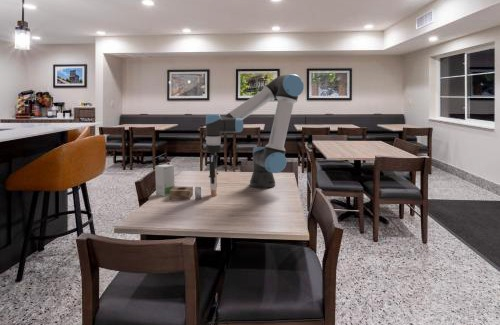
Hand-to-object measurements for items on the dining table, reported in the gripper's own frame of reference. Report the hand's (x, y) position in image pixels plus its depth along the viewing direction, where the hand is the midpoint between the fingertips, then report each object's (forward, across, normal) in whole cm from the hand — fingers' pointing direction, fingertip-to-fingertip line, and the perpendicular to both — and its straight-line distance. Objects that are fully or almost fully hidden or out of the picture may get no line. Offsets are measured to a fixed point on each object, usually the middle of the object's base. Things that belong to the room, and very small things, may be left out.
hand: (213, 188), depth 193 cm
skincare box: (+4, -1, -26) cm, 26 cm away
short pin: (+4, +8, -7) cm, 11 cm away
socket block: (+4, +5, -16) cm, 17 cm away
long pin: (+4, 0, 0) cm, 4 cm away
